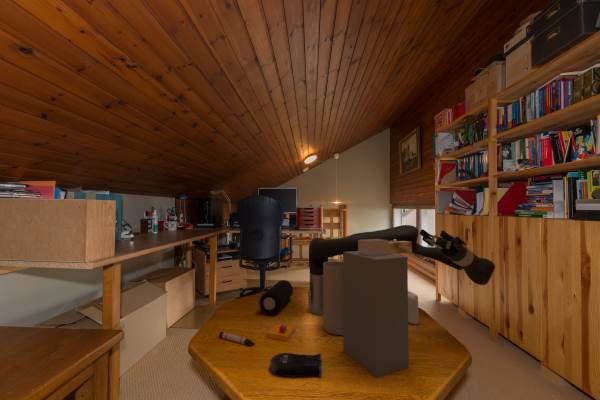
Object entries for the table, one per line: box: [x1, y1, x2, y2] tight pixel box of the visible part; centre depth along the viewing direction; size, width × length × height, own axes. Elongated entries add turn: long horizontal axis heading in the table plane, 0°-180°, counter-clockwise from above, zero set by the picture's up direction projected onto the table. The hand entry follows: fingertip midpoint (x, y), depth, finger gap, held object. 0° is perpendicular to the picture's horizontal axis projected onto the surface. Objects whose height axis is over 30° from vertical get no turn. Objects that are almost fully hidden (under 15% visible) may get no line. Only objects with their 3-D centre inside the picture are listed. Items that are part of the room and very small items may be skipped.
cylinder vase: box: [322, 260, 343, 336], centre depth 104 cm, size 12×12×25 cm
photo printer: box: [408, 290, 420, 325], centre depth 112 cm, size 10×4×12 cm, turn 39°
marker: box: [218, 331, 256, 347], centre depth 93 cm, size 15×2×2 cm, turn 62°
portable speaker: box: [259, 279, 294, 315], centre depth 128 cm, size 26×10×10 cm, turn 166°
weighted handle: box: [358, 239, 412, 256], centre depth 87 cm, size 19×5×4 cm, turn 115°
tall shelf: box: [342, 251, 410, 378], centre depth 83 cm, size 12×16×32 cm
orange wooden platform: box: [266, 323, 296, 342], centre depth 98 cm, size 8×8×4 cm
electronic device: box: [269, 352, 323, 378], centre depth 77 cm, size 9×6×15 cm
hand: (431, 232), depth 95 cm, fingers open, 8 cm apart
